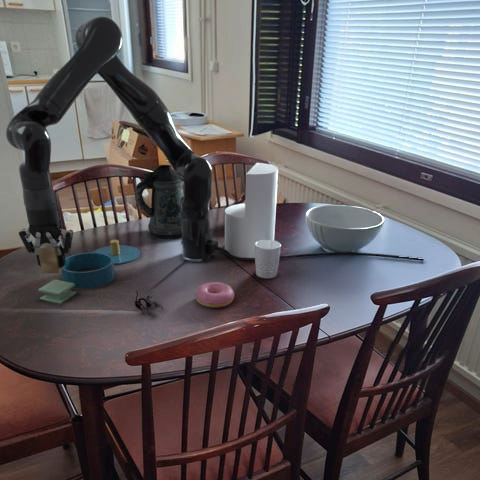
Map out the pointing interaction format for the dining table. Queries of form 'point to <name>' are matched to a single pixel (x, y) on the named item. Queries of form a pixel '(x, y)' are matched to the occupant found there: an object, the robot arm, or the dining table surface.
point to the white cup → (267, 258)
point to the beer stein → (162, 202)
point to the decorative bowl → (343, 227)
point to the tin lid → (119, 252)
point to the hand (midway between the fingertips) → (52, 266)
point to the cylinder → (253, 212)
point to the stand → (57, 291)
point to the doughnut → (214, 295)
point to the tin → (89, 277)
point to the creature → (146, 304)
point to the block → (48, 259)
